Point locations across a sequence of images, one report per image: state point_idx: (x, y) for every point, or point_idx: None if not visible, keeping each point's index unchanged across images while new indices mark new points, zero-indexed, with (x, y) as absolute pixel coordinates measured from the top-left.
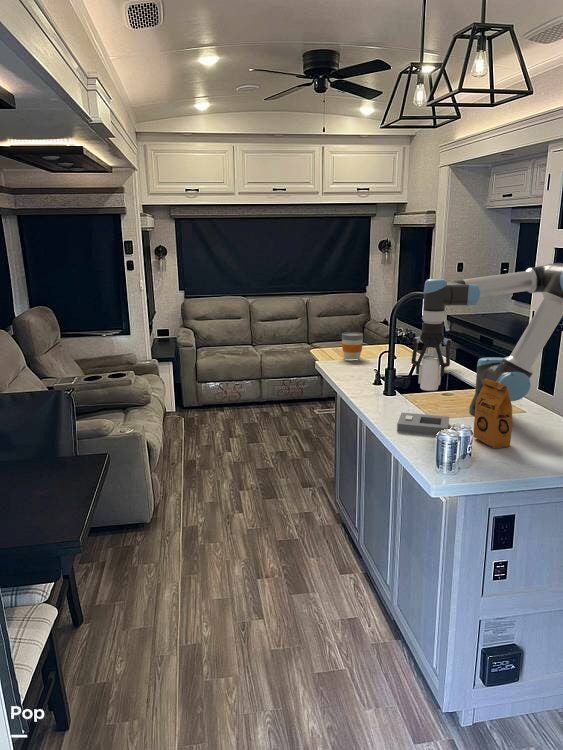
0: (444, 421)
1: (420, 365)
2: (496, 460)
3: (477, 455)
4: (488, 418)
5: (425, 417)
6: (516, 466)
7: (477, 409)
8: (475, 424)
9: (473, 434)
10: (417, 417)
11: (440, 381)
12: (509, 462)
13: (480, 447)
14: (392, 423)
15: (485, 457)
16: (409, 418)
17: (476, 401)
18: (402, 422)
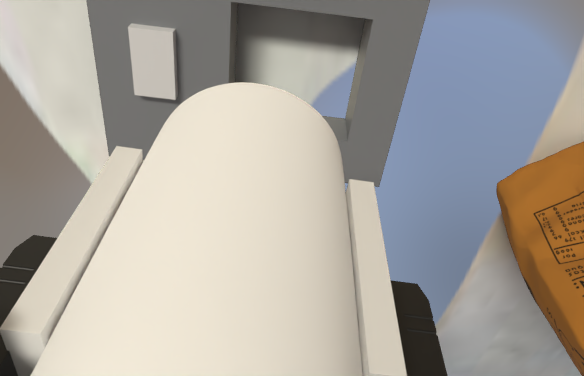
0: (382, 79)
1: (21, 358)
2: (497, 337)
3: (446, 313)
4: (570, 357)
5: (262, 3)
6: (541, 362)
7: (556, 324)
8: (516, 257)
9: (500, 193)
10: (207, 25)
11: (375, 200)
12: (534, 344)
13: (487, 255)
14: (63, 5)
15: (469, 323)
16: (160, 89)
17: (579, 347)
18: (131, 133)
